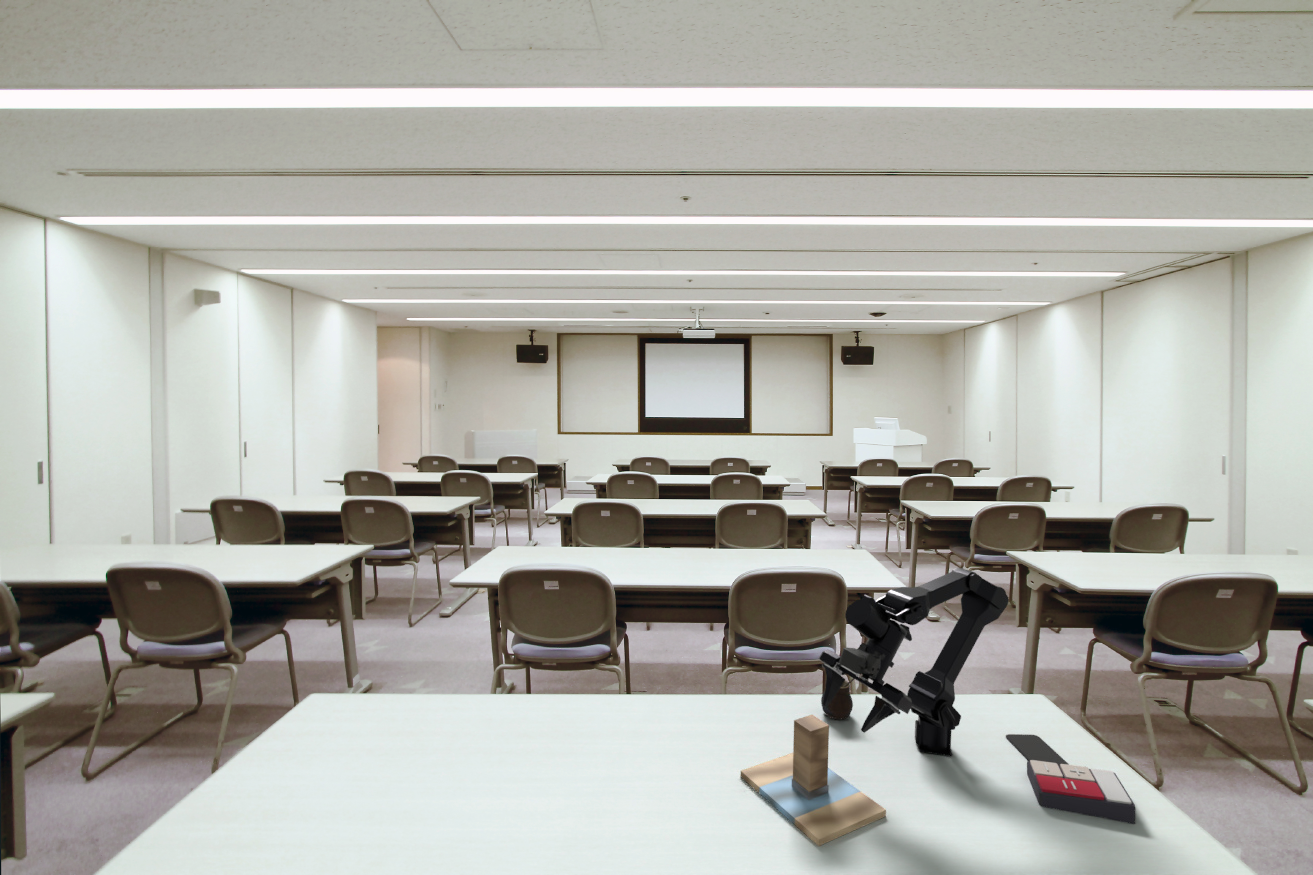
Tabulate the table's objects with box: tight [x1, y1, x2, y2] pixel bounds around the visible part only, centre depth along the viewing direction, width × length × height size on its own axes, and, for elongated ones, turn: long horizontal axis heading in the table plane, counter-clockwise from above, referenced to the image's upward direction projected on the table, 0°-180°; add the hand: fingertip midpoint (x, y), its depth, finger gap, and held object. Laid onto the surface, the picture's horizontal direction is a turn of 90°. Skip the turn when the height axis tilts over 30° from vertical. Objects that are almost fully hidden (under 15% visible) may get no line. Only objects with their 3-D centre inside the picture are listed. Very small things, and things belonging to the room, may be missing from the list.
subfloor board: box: [740, 752, 887, 847], centre depth 121 cm, size 22×16×1 cm
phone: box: [1005, 733, 1070, 765], centre depth 134 cm, size 7×1×15 cm
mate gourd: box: [820, 678, 855, 721], centre depth 150 cm, size 7×8×10 cm
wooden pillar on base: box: [791, 714, 830, 800], centre depth 120 cm, size 5×5×13 cm
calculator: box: [1026, 760, 1136, 825], centre depth 120 cm, size 11×4×15 cm
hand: (842, 718), depth 125 cm, fingers open, 9 cm apart
